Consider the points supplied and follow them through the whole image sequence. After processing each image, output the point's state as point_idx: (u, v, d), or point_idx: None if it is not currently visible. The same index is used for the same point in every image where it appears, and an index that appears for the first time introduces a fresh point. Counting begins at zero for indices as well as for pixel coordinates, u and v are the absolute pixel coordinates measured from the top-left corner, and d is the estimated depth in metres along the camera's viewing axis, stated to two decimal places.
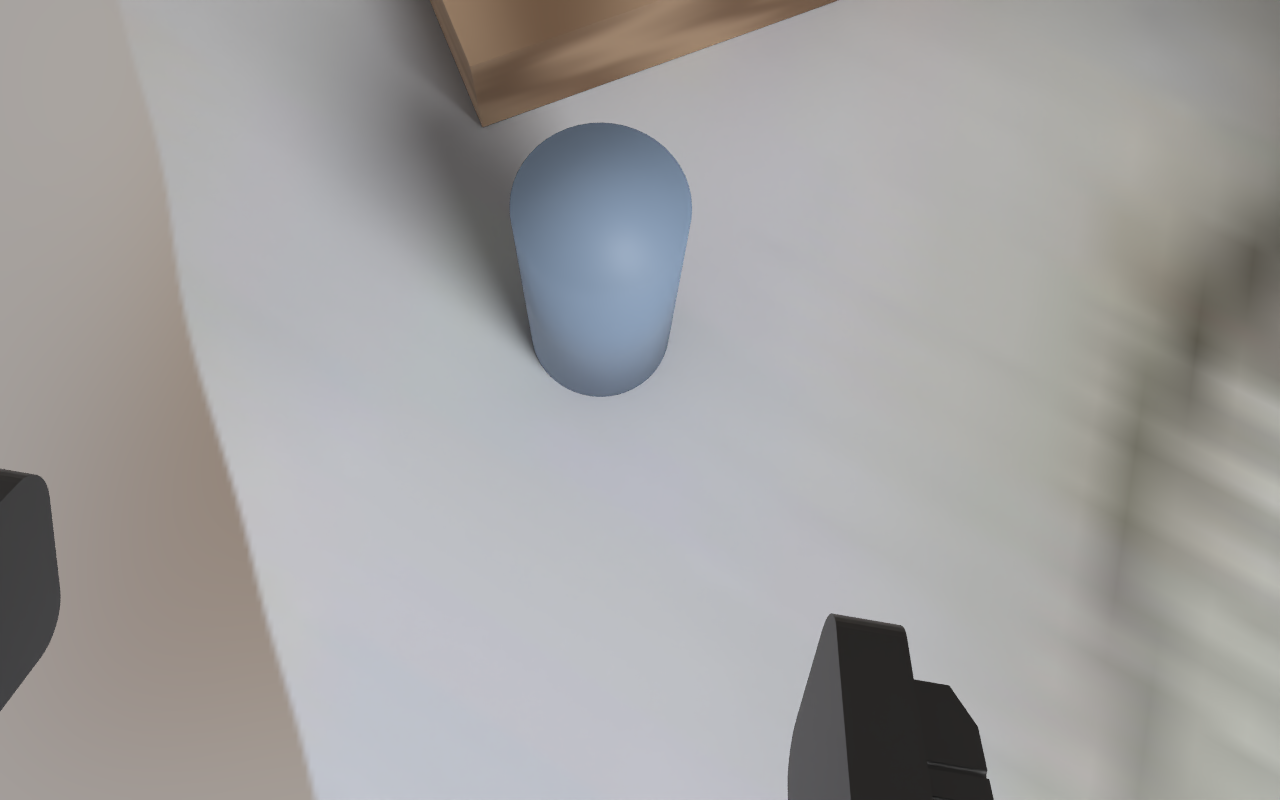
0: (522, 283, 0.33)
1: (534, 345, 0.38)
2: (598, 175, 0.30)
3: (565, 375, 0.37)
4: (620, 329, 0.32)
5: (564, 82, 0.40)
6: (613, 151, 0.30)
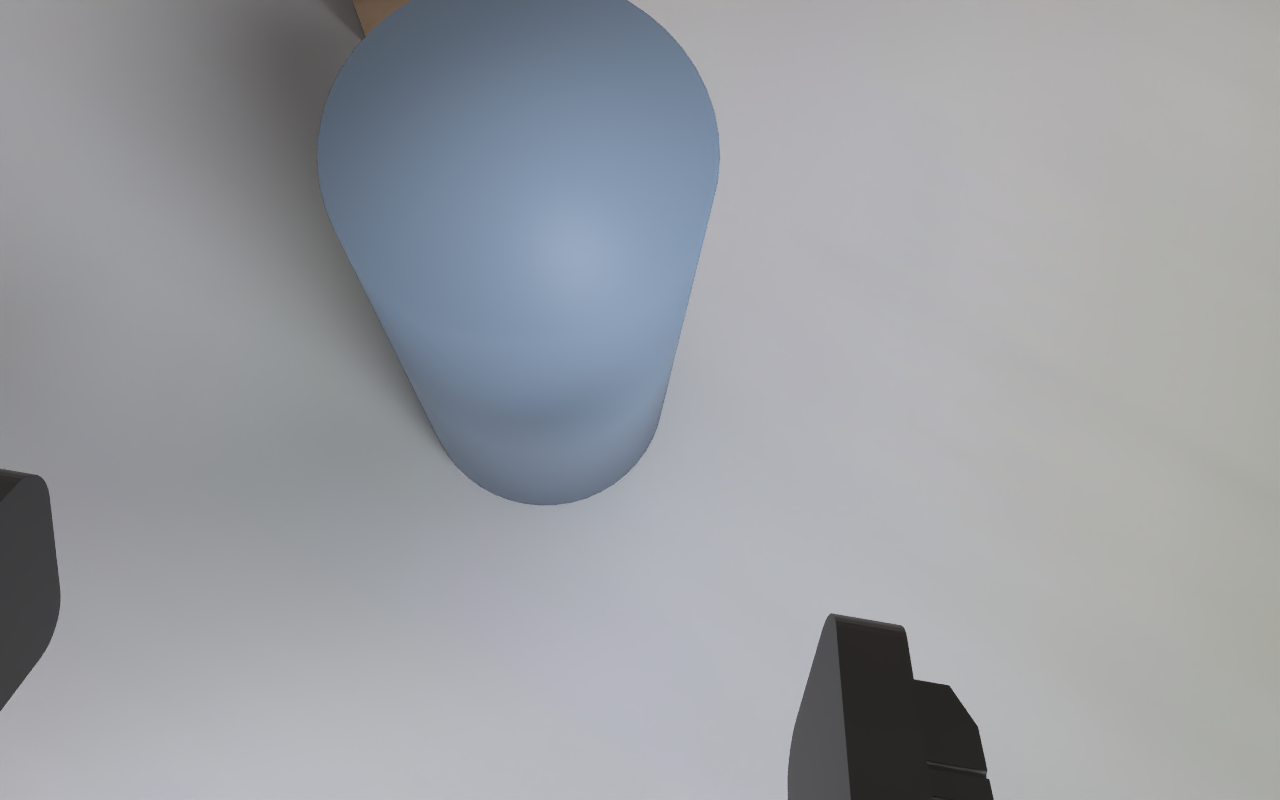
0: None
1: None
2: (518, 81, 0.14)
3: (476, 471, 0.21)
4: (563, 409, 0.16)
5: None
6: (554, 32, 0.14)
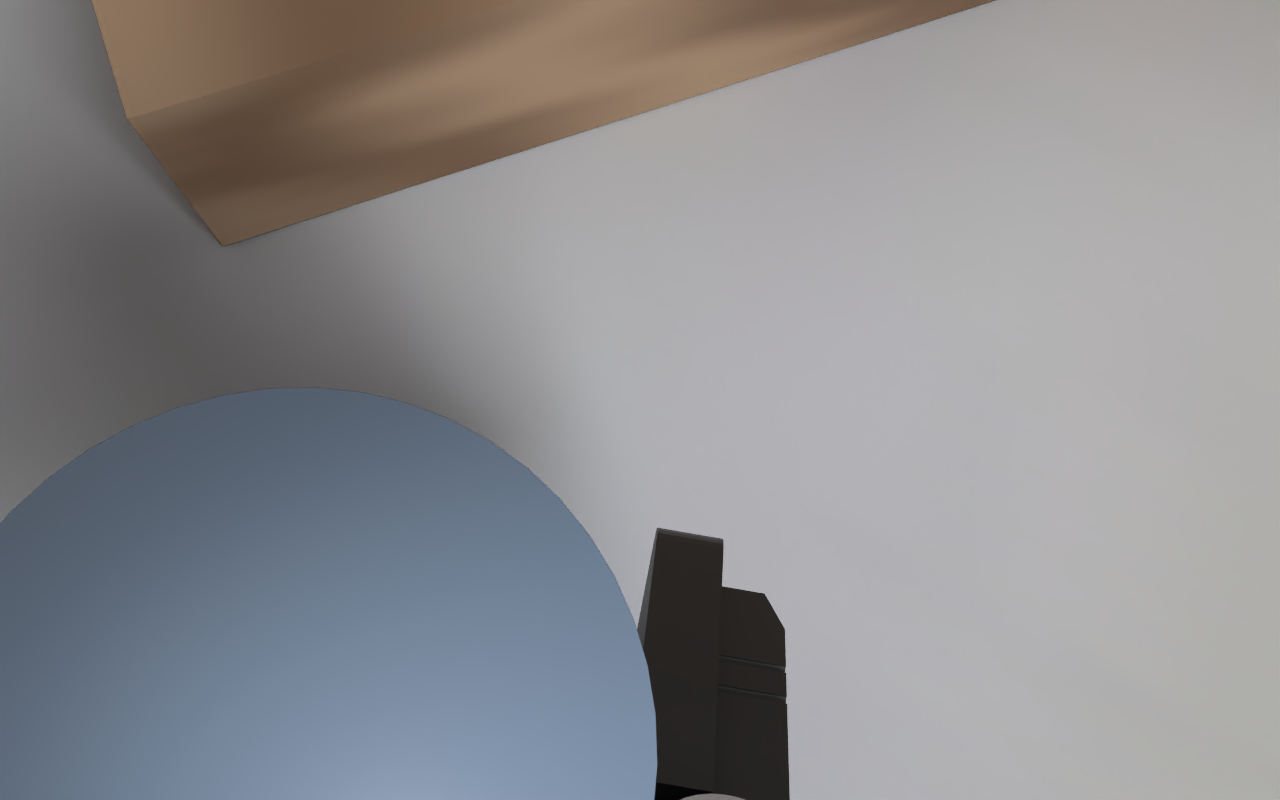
0: None
1: None
2: (282, 612, 0.07)
3: None
4: None
5: (401, 154, 0.18)
6: (353, 509, 0.07)
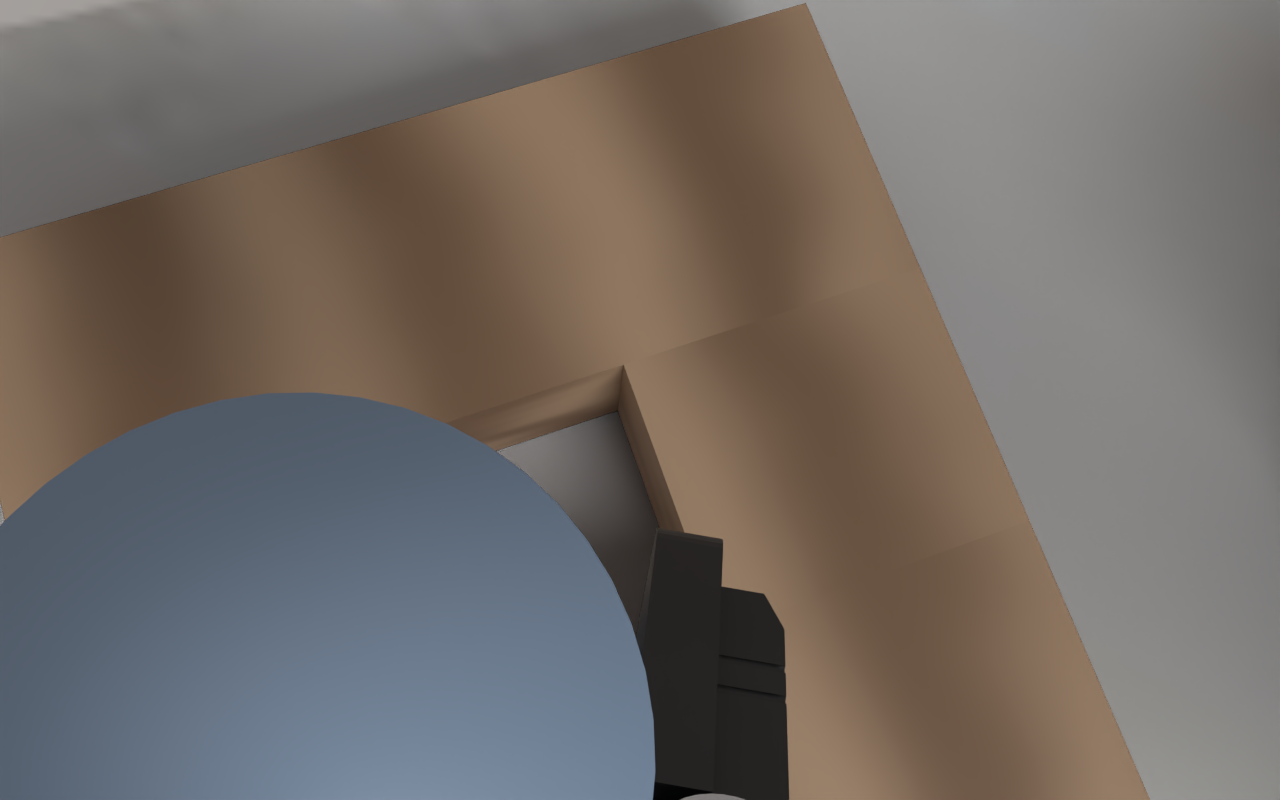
0: None
1: None
2: (280, 619, 0.07)
3: None
4: None
5: None
6: (349, 513, 0.07)
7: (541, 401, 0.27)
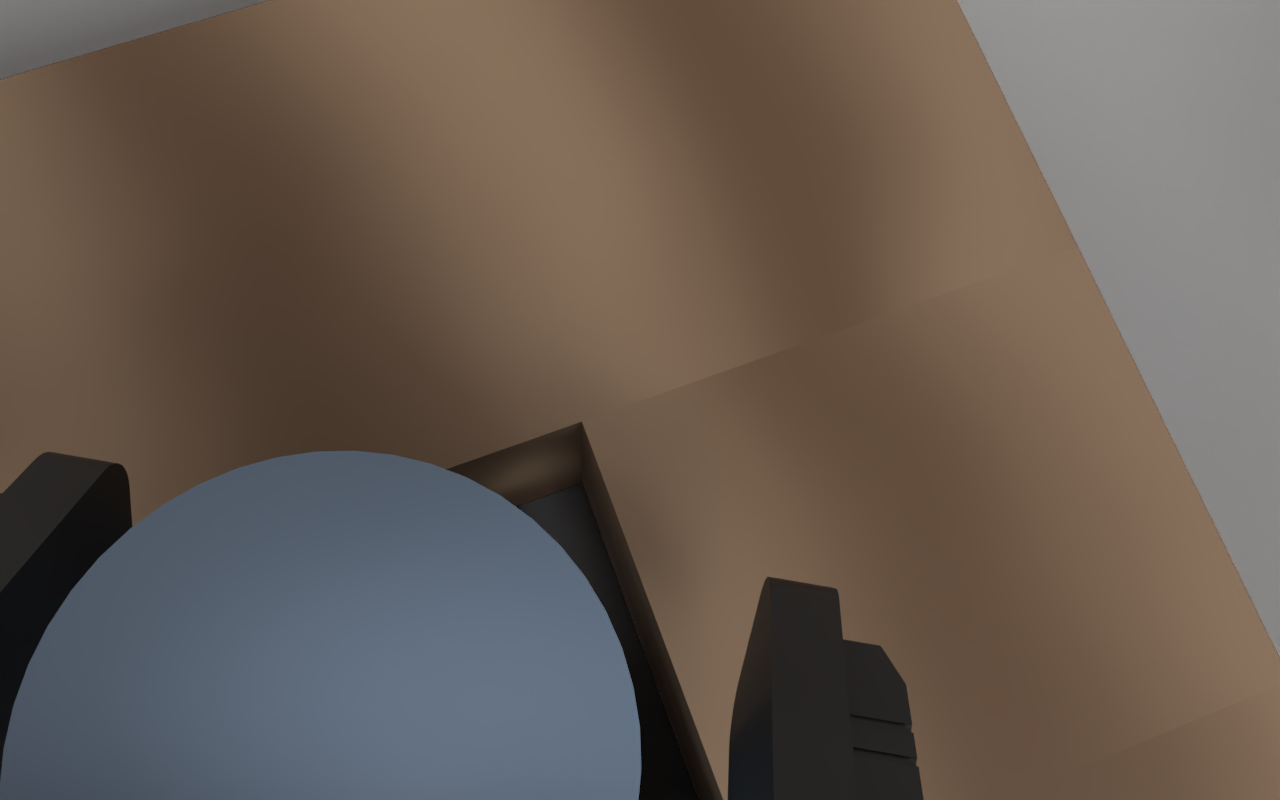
0: None
1: None
2: (327, 641, 0.09)
3: None
4: None
5: None
6: (385, 554, 0.09)
7: None
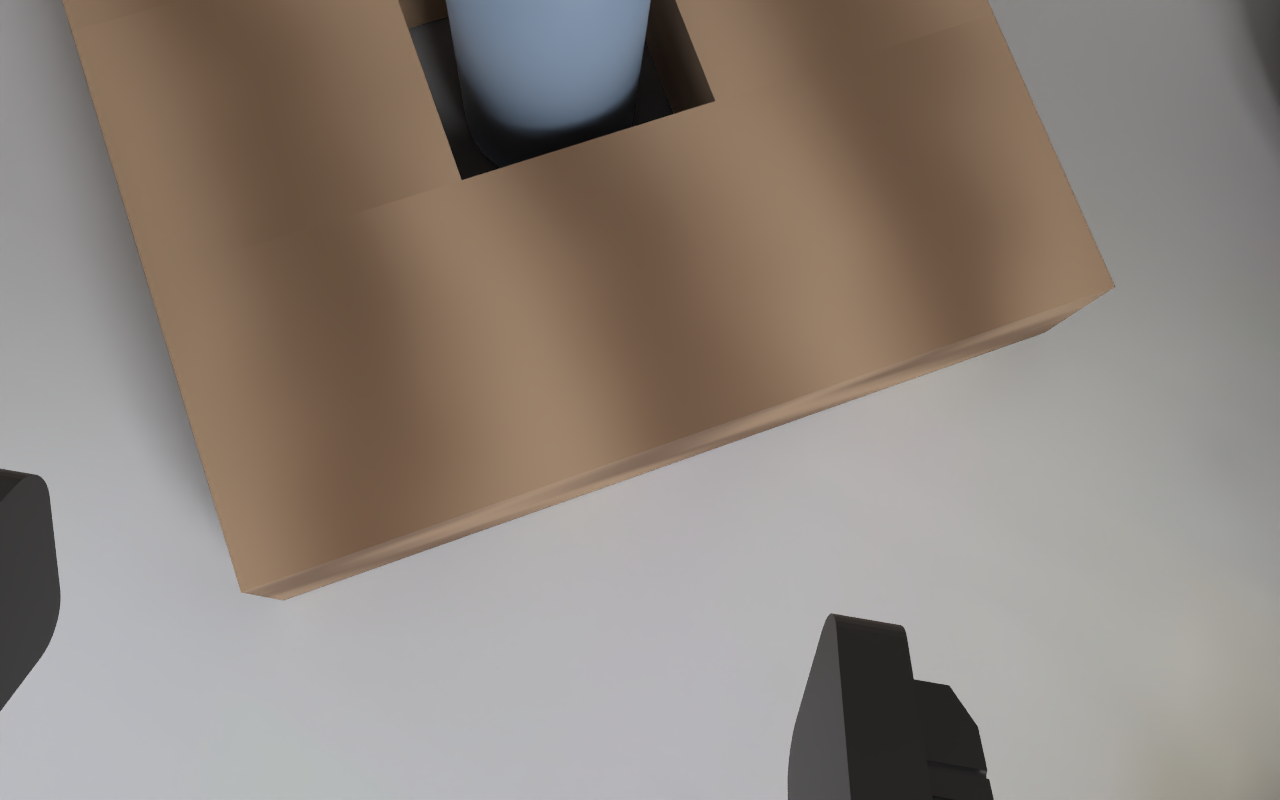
0: None
1: (465, 111, 0.31)
2: None
3: (501, 147, 0.30)
4: (568, 55, 0.25)
5: (399, 553, 0.28)
6: None
7: None
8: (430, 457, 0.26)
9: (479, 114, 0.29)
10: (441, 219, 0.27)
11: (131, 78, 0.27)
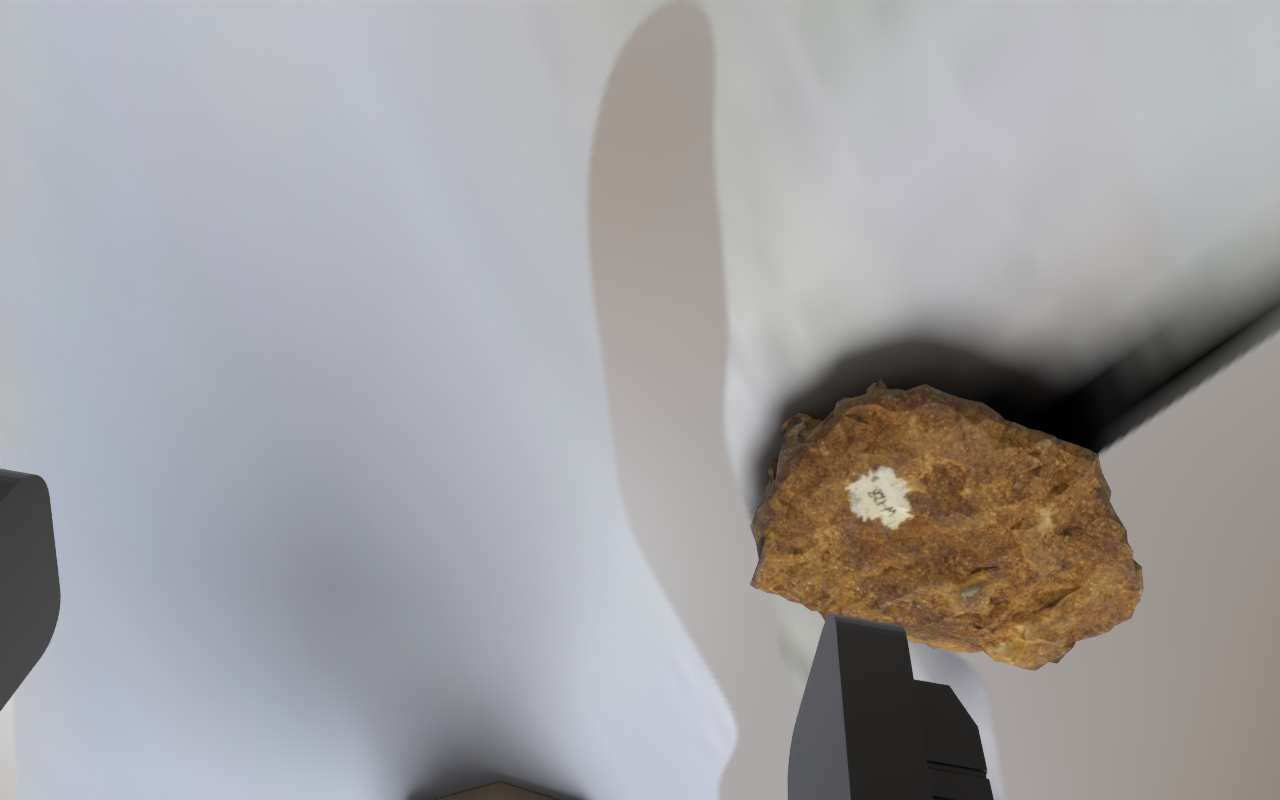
0: None
1: None
2: None
3: None
4: None
5: None
6: None
7: None
8: None
9: None
10: None
11: None
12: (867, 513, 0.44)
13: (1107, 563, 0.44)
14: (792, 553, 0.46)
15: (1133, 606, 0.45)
